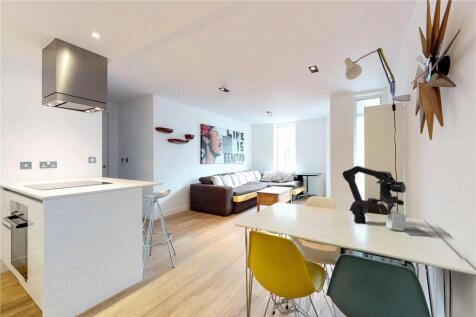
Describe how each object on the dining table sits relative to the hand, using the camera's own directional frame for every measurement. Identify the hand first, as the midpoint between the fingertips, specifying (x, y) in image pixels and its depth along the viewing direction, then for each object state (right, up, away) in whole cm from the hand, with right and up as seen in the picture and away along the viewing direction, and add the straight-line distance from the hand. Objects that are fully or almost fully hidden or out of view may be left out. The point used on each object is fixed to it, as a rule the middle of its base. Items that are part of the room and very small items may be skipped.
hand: (385, 214), depth 135 cm
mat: (+14, -9, -5) cm, 18 cm away
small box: (+5, -9, -2) cm, 11 cm away
